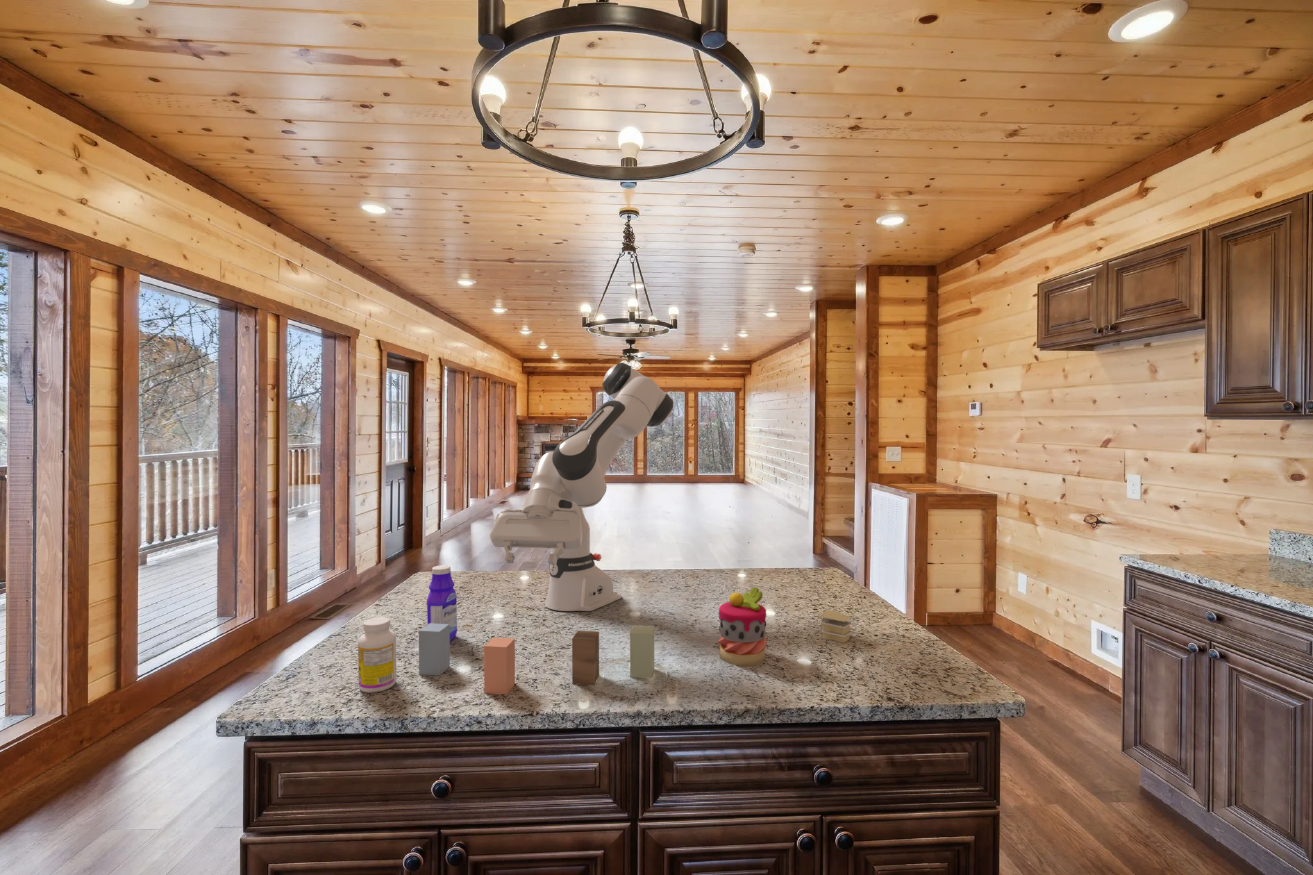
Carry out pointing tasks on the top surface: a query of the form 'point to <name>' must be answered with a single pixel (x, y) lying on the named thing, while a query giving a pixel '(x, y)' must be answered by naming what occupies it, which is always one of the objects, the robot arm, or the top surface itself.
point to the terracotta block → (499, 665)
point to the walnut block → (585, 657)
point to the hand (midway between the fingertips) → (530, 562)
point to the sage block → (642, 651)
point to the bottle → (442, 599)
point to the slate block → (434, 649)
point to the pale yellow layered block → (835, 626)
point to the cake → (743, 629)
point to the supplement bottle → (377, 656)
